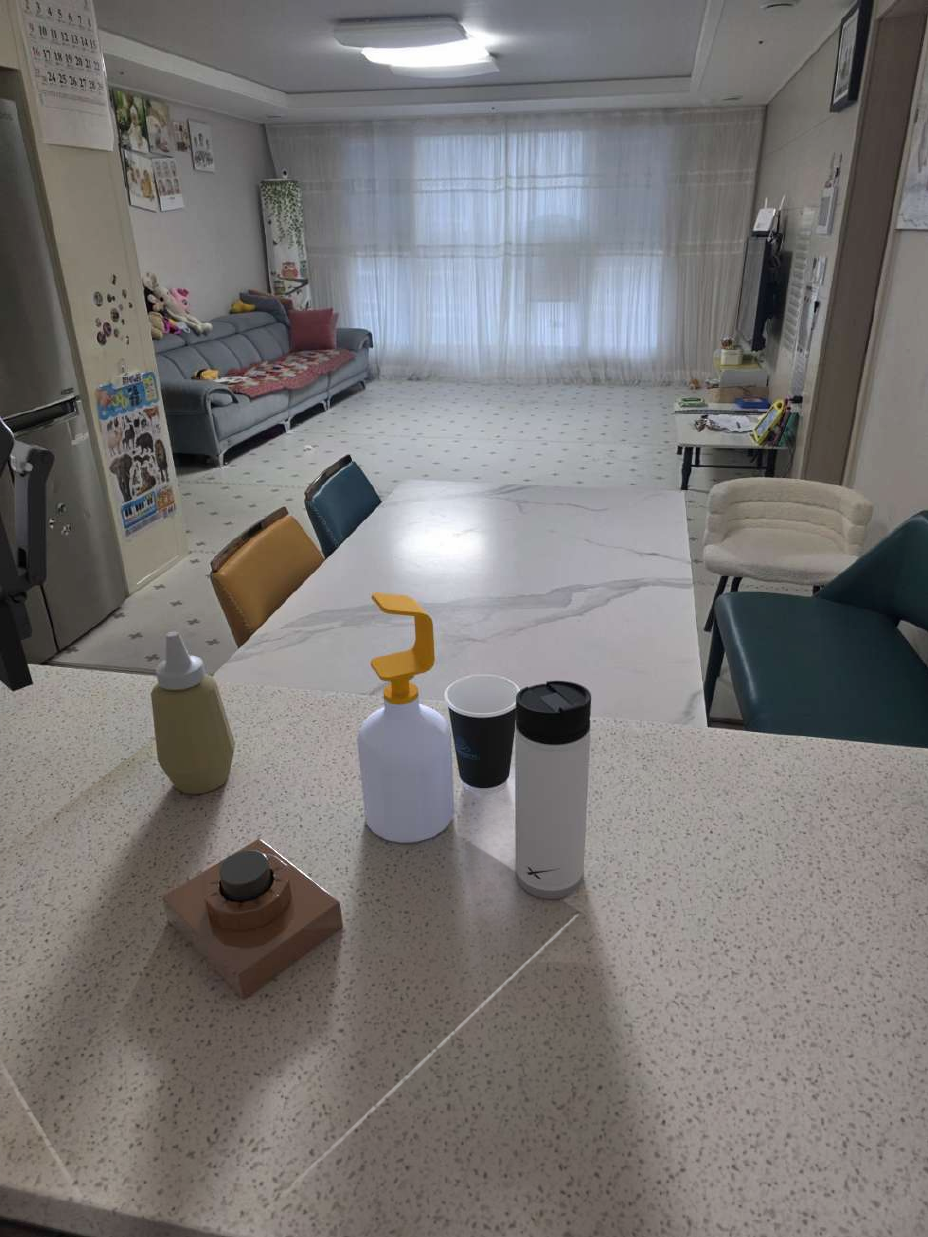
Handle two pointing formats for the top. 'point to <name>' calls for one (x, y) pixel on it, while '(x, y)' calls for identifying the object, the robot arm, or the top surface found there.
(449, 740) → the soap bottle
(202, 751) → the squeeze bottle
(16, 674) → the robot arm
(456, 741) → the dixie cup
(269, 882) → the grey button cap
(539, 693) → the travel mug
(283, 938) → the button base
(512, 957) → the top surface
